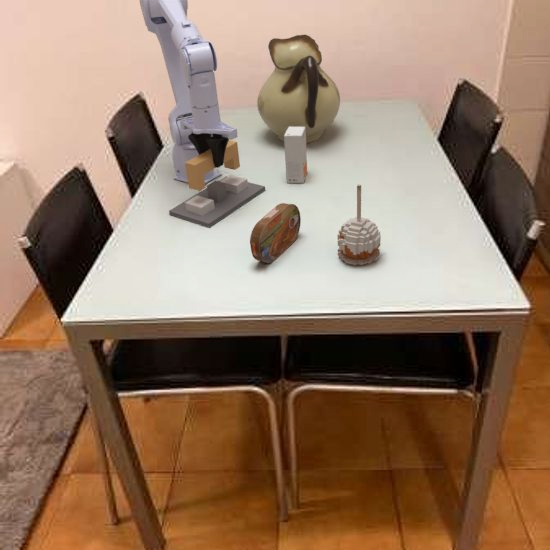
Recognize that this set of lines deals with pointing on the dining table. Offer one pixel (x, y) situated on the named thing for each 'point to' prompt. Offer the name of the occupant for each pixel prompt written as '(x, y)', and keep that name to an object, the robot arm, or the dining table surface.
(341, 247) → the caramel apple
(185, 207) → the stand
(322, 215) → the dining table surface
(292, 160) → the skincare box
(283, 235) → the tin
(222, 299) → the dining table surface
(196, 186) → the frame
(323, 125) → the beige sack vase
